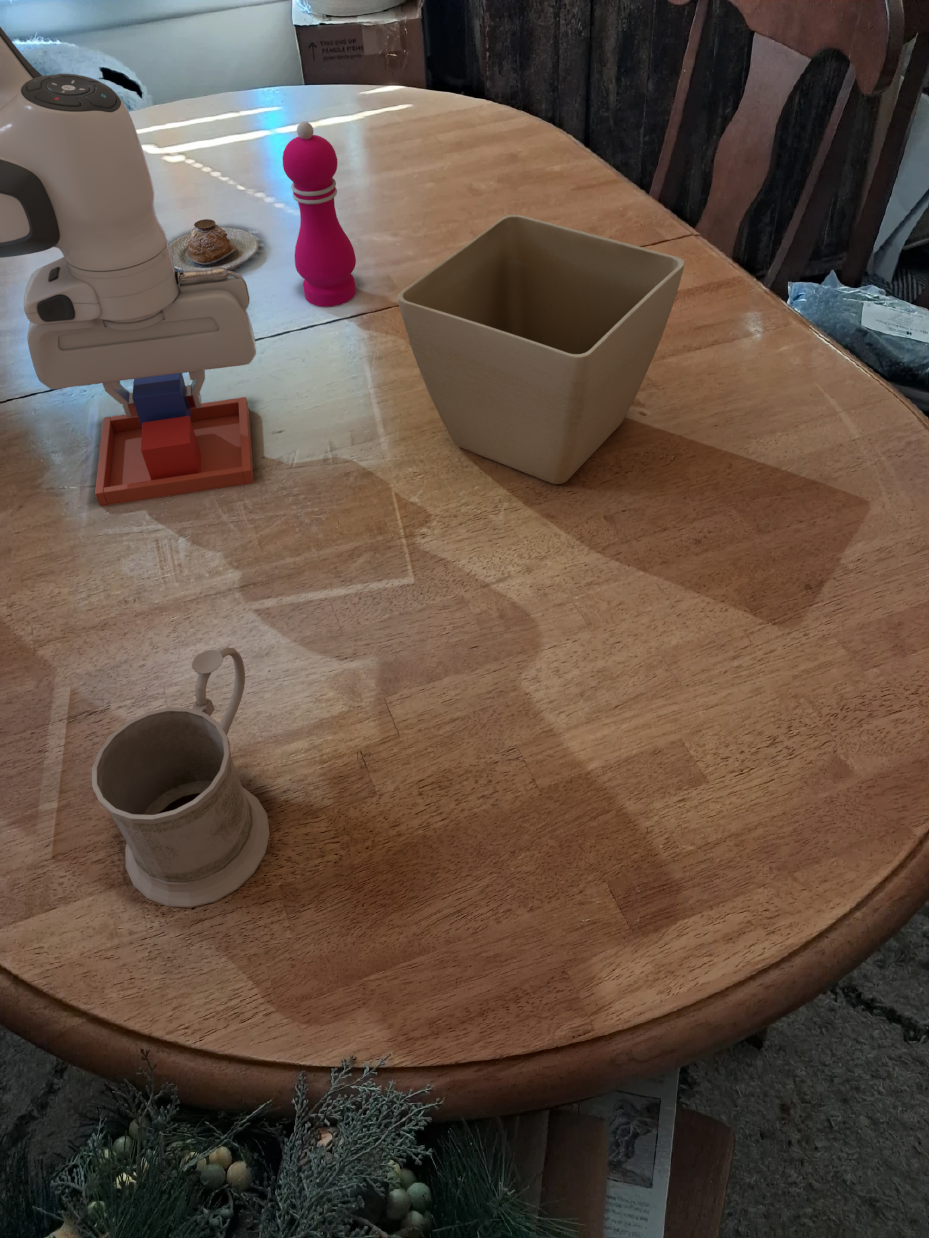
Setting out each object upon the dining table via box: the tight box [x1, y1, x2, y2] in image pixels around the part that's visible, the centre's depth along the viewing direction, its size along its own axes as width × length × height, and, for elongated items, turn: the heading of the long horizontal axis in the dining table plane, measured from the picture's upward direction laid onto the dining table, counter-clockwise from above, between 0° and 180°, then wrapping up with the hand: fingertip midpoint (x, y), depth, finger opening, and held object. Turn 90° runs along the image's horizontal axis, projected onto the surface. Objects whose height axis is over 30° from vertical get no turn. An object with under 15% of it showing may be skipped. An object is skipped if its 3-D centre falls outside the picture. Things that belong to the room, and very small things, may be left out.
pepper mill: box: [282, 121, 357, 308], centre depth 113 cm, size 7×7×20 cm
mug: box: [91, 646, 271, 909], centre depth 66 cm, size 14×10×12 cm
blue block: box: [132, 373, 191, 427], centre depth 97 cm, size 4×4×4 cm
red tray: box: [94, 396, 255, 507], centre depth 98 cm, size 15×13×2 cm
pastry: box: [168, 218, 259, 272], centre depth 127 cm, size 12×12×5 cm
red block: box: [141, 416, 201, 480], centre depth 95 cm, size 4×4×4 cm
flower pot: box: [396, 213, 686, 485], centre depth 93 cm, size 19×19×17 cm
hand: (164, 409), depth 98 cm, fingers closed on blue block, 4 cm apart
